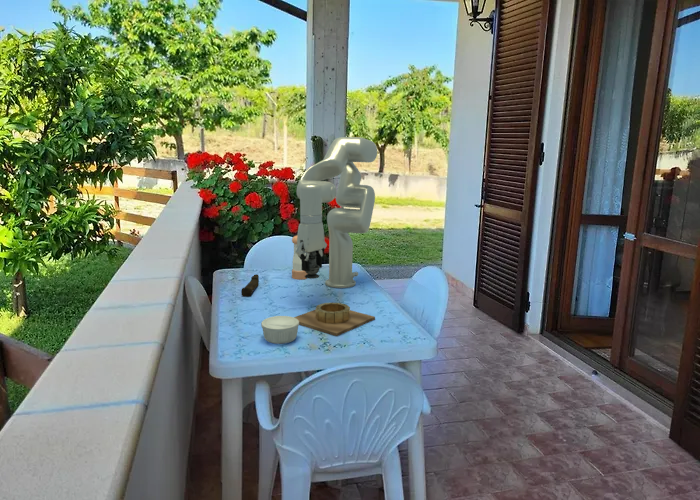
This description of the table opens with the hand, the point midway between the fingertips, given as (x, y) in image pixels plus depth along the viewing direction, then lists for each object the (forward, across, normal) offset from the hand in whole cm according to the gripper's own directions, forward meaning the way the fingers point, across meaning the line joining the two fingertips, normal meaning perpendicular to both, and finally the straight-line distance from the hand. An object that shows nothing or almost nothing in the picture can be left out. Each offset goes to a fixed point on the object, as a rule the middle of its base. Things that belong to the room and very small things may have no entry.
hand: (311, 268), depth 185 cm
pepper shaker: (+15, -24, -29) cm, 40 cm away
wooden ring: (+13, +9, +17) cm, 24 cm away
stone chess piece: (+3, 0, 0) cm, 3 cm away
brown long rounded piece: (+14, +3, -30) cm, 33 cm away
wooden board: (+13, +9, +17) cm, 24 cm away
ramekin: (+12, +31, +15) cm, 37 cm away
